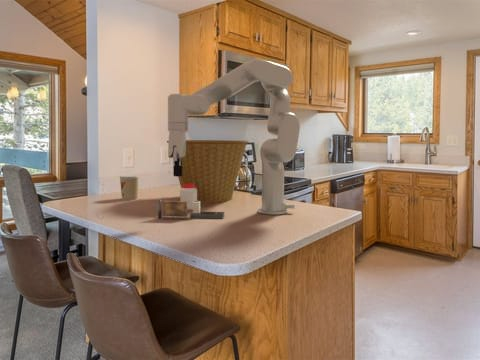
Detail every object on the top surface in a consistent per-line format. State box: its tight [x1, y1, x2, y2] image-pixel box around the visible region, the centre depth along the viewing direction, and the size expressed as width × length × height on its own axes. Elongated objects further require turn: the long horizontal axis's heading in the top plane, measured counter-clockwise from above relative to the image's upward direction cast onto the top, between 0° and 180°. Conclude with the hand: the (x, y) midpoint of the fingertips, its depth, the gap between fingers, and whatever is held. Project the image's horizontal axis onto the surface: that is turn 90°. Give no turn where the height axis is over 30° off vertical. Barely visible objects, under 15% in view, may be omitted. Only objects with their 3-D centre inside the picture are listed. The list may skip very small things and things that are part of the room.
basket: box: [166, 139, 250, 204], centre depth 200 cm, size 42×42×30 cm
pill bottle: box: [179, 183, 197, 211], centre depth 175 cm, size 8×8×11 cm
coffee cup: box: [119, 174, 139, 201], centre depth 198 cm, size 9×9×12 cm
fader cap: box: [192, 201, 201, 213], centre depth 156 cm, size 2×4×5 cm, turn 176°
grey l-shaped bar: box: [157, 199, 188, 220], centre depth 152 cm, size 12×1×8 cm, turn 86°
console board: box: [190, 210, 225, 220], centre depth 157 cm, size 13×6×2 cm, turn 86°
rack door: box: [162, 200, 188, 218], centre depth 152 cm, size 10×1×6 cm, turn 86°
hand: (178, 176), depth 146 cm, fingers closed
